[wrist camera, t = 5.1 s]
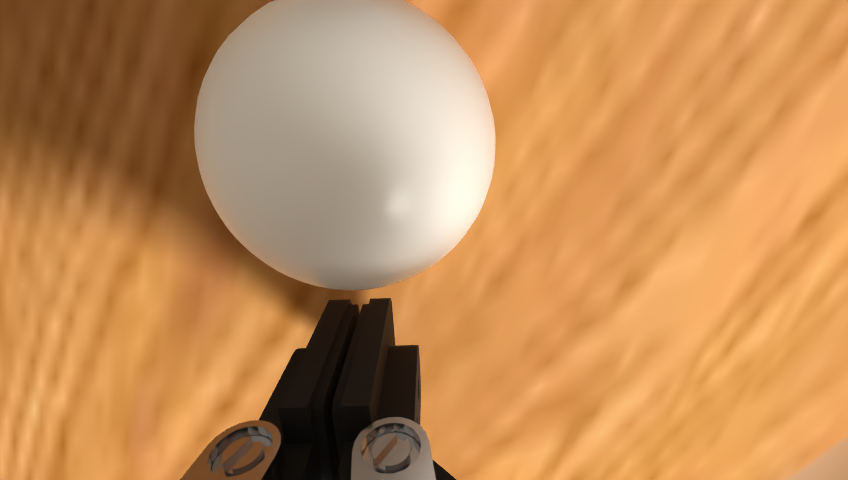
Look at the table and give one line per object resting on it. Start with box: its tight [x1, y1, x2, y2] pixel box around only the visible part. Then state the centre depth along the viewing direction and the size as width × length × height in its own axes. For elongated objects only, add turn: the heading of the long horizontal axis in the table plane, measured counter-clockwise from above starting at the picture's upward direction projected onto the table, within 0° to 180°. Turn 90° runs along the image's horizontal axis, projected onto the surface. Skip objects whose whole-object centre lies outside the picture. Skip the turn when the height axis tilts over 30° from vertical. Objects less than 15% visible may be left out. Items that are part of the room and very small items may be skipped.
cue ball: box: [194, 0, 495, 290], centre depth 8 cm, size 6×6×6 cm
